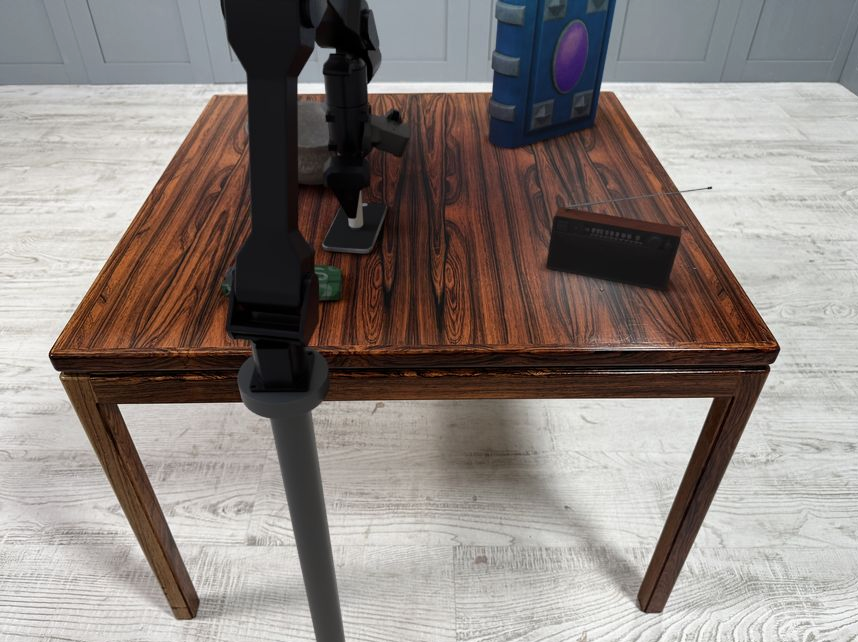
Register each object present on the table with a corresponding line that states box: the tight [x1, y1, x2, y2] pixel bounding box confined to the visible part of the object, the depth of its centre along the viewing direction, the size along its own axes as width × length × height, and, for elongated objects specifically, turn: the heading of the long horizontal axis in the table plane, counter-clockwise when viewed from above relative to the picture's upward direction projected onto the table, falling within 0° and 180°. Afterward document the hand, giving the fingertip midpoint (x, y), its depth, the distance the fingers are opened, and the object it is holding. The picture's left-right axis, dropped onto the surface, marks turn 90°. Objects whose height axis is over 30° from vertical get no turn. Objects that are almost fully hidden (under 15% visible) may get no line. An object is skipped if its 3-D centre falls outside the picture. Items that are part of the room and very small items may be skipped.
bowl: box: [244, 99, 336, 186], centre depth 114 cm, size 21×21×10 cm
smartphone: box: [321, 201, 388, 254], centre depth 102 cm, size 8×1×15 cm
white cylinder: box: [348, 190, 363, 230], centre depth 99 cm, size 2×2×9 cm
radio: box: [545, 186, 713, 292], centre depth 87 cm, size 19×3×15 cm, turn 70°
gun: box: [220, 264, 344, 301], centre depth 91 cm, size 16×1×10 cm
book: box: [487, 0, 617, 150], centre depth 122 cm, size 24×9×30 cm, turn 123°
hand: (354, 204), depth 99 cm, fingers open, 8 cm apart
